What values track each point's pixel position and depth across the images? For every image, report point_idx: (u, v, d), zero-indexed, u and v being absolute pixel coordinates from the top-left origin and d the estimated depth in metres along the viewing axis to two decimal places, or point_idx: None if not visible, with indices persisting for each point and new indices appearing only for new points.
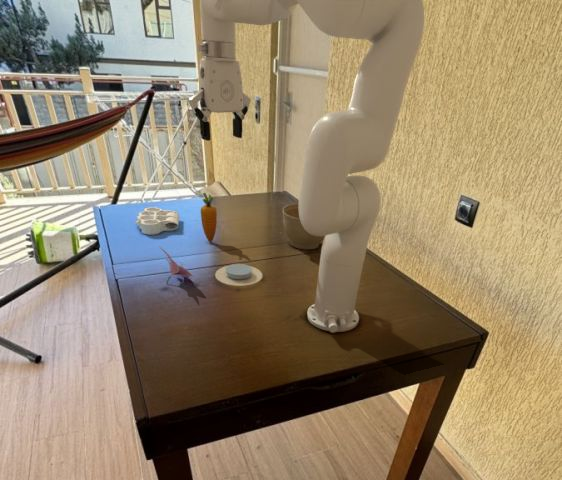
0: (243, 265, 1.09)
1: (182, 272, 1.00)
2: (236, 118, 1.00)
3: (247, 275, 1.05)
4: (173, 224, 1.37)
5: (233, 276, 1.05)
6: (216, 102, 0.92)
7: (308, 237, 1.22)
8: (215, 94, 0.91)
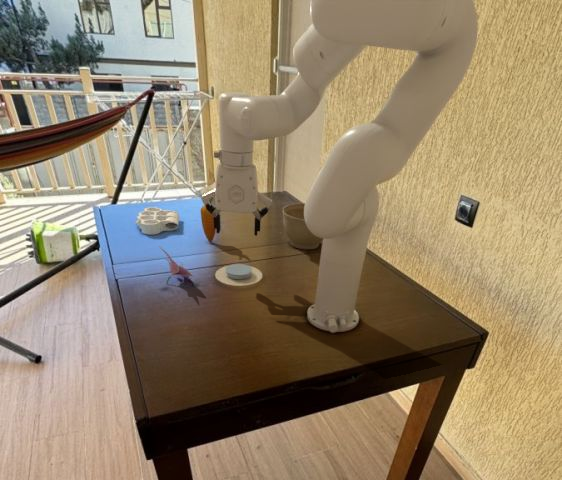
0: (243, 265, 1.09)
1: (182, 272, 1.00)
2: (255, 217, 0.99)
3: (247, 275, 1.05)
4: (173, 224, 1.37)
5: (233, 276, 1.05)
6: (223, 203, 0.94)
7: (308, 237, 1.22)
8: (222, 196, 0.93)
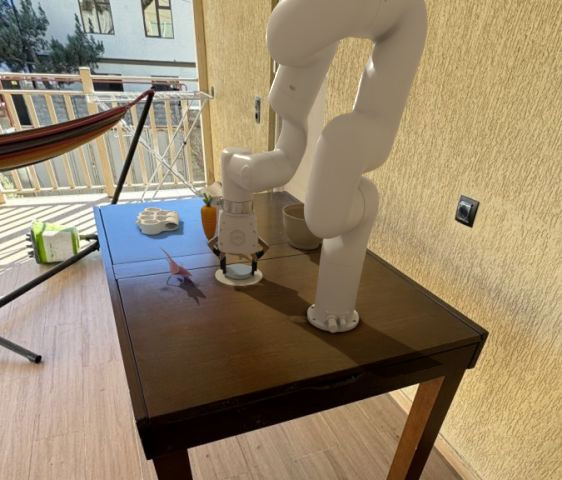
0: (243, 265, 1.09)
1: (182, 272, 1.00)
2: (252, 258, 1.05)
3: (247, 275, 1.05)
4: (173, 224, 1.37)
5: (233, 276, 1.05)
6: (225, 245, 1.00)
7: (308, 237, 1.22)
8: (224, 239, 0.99)
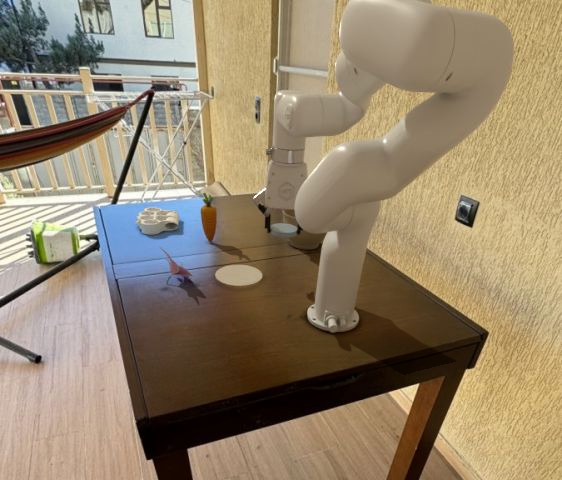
0: (287, 224, 1.04)
1: (182, 272, 1.00)
2: None
3: (293, 233, 1.00)
4: (173, 224, 1.37)
5: (279, 234, 1.00)
6: (273, 200, 0.95)
7: (308, 237, 1.22)
8: (272, 193, 0.94)
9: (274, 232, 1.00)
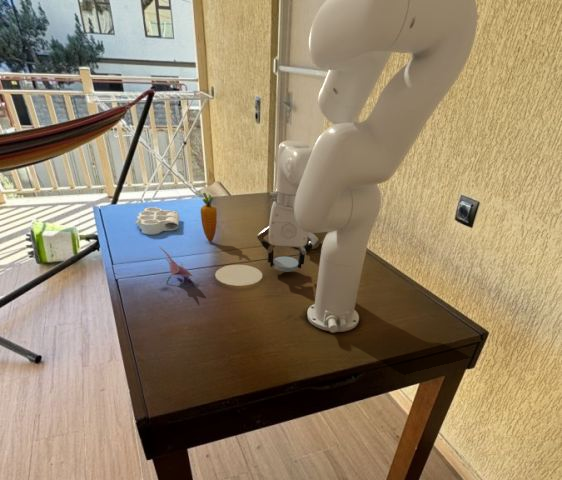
0: (289, 258, 1.10)
1: (182, 272, 1.00)
2: (300, 251, 1.07)
3: (294, 268, 1.07)
4: (173, 224, 1.37)
5: (281, 268, 1.06)
6: (276, 238, 1.01)
7: (308, 237, 1.22)
8: (275, 232, 1.00)
9: (277, 266, 1.06)
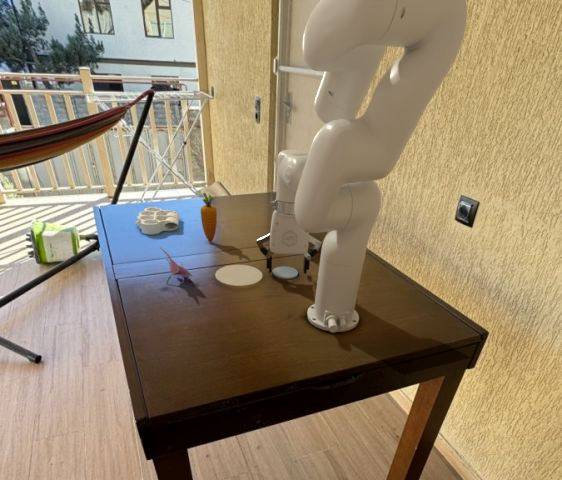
0: (289, 268, 1.12)
1: (182, 272, 1.00)
2: (305, 257, 1.07)
3: (294, 277, 1.09)
4: (173, 224, 1.37)
5: (281, 278, 1.08)
6: (277, 246, 1.02)
7: None
8: (277, 240, 1.01)
9: (276, 276, 1.08)
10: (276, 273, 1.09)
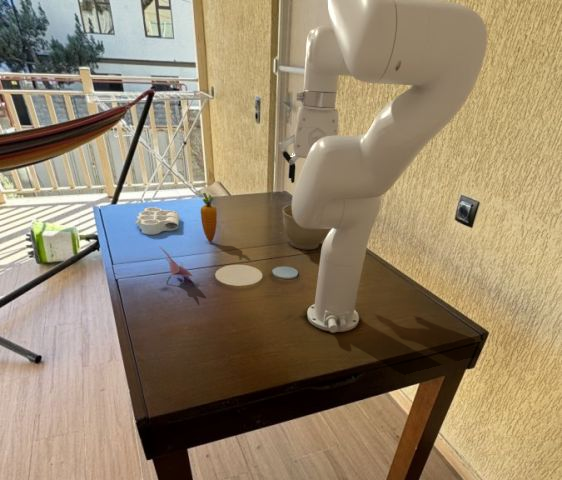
0: (289, 268, 1.12)
1: (182, 272, 1.00)
2: None
3: (294, 277, 1.09)
4: (173, 224, 1.37)
5: (281, 278, 1.08)
6: (302, 148, 0.92)
7: (308, 237, 1.22)
8: (302, 140, 0.91)
9: (276, 276, 1.08)
10: (276, 273, 1.09)
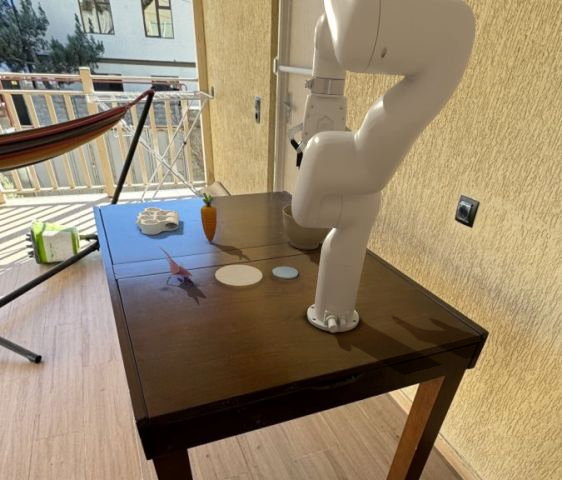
0: (289, 268, 1.12)
1: (182, 272, 1.00)
2: None
3: (294, 277, 1.09)
4: (173, 224, 1.37)
5: (281, 278, 1.08)
6: (310, 136, 0.92)
7: (308, 237, 1.22)
8: (310, 128, 0.92)
9: (276, 276, 1.08)
10: (276, 273, 1.09)
